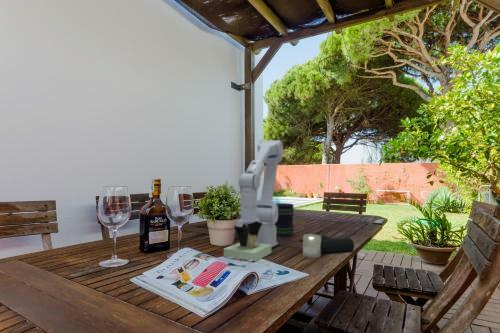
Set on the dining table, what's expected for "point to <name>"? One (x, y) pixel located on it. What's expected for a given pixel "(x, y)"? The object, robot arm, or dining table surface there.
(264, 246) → the hole plate
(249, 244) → the square peg
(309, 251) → the round peg
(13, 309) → the dining table surface
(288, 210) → the storage jar
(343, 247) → the pipe connector
